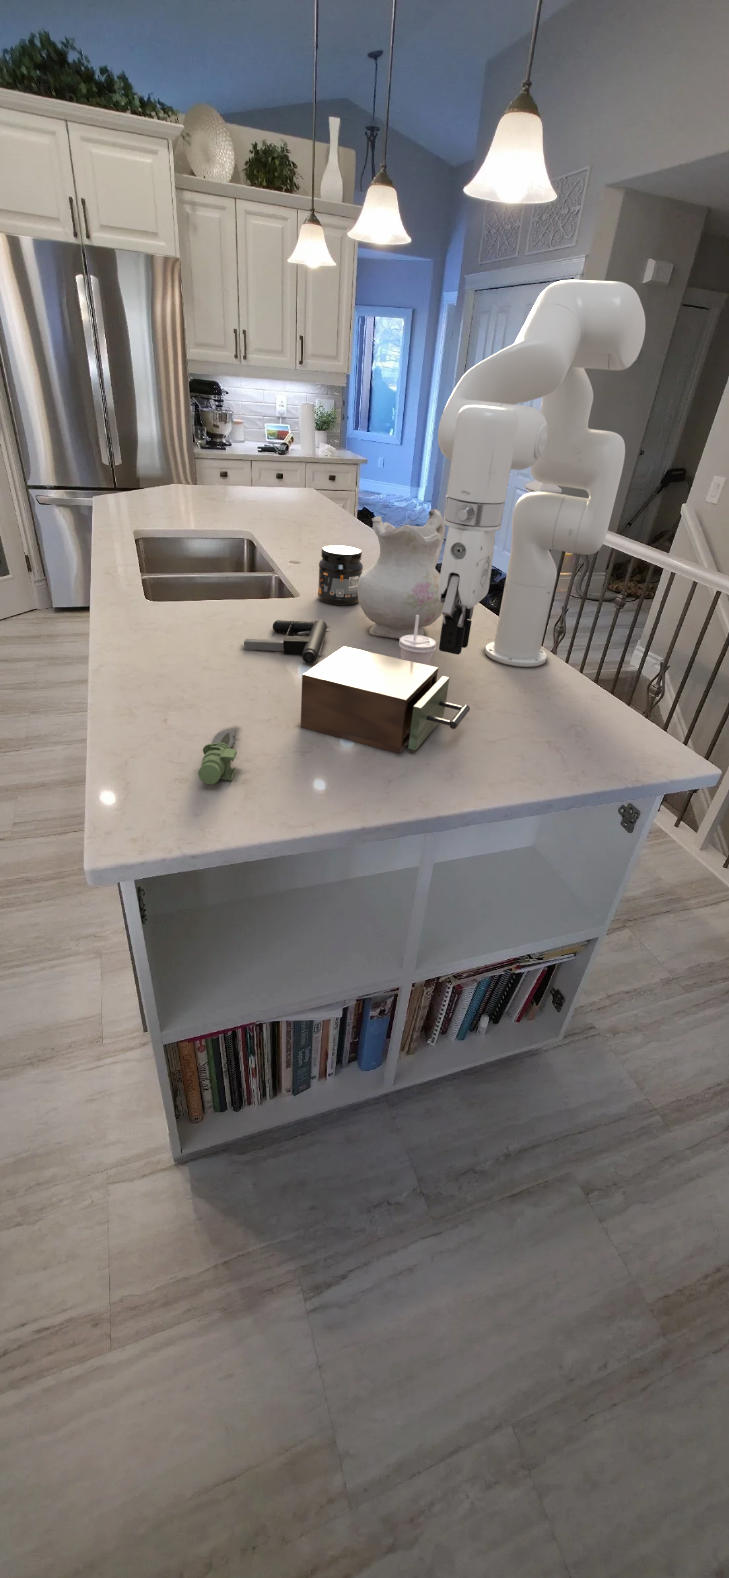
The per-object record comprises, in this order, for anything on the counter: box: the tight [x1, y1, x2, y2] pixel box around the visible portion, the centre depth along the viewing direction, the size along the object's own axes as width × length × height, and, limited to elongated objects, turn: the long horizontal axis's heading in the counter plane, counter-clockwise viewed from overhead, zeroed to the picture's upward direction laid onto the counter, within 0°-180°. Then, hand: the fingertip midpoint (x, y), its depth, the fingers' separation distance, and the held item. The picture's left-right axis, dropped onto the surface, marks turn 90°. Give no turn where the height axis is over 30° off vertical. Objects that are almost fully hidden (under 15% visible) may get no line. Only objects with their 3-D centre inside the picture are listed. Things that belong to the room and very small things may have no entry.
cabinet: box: [300, 645, 439, 755], centre depth 107 cm, size 17×15×9 cm
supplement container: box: [317, 544, 364, 606], centre depth 163 cm, size 10×10×12 cm
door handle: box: [243, 619, 331, 665], centre depth 136 cm, size 3×20×16 cm
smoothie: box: [398, 615, 437, 666], centre depth 117 cm, size 6×6×14 cm
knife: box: [198, 728, 238, 785], centre depth 95 cm, size 4×18×5 cm
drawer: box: [403, 675, 471, 751], centre depth 106 cm, size 20×14×7 cm, turn 66°
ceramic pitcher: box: [357, 508, 446, 640], centre depth 143 cm, size 22×20×25 cm
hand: (453, 647), depth 98 cm, fingers closed
